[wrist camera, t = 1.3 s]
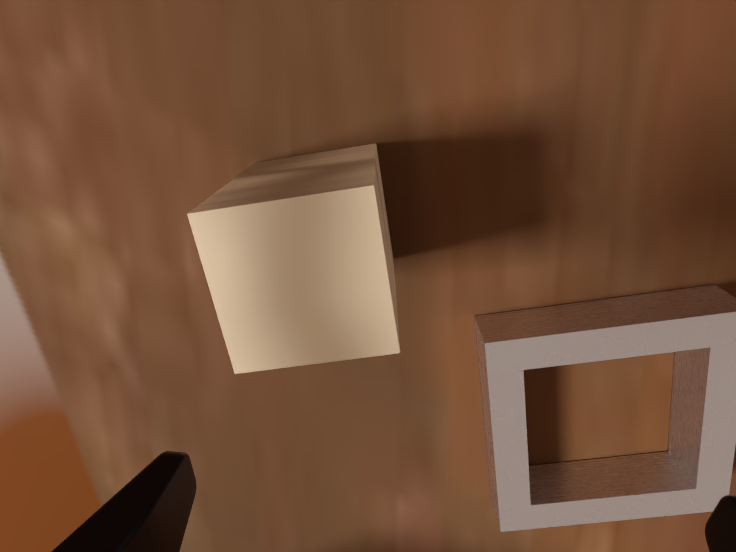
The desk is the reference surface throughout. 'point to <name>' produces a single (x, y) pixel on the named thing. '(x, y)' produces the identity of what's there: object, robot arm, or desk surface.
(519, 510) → the rectangular frame
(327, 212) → the peg
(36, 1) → the desk surface
